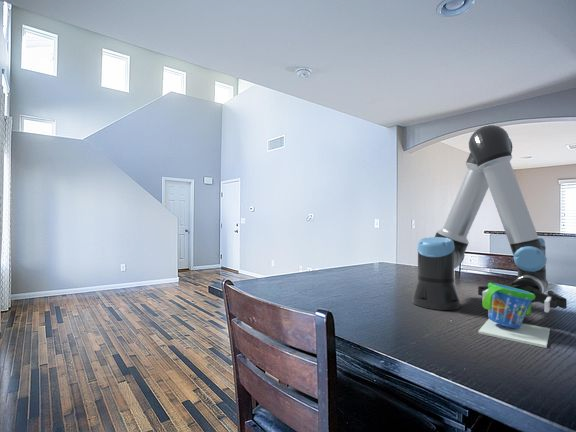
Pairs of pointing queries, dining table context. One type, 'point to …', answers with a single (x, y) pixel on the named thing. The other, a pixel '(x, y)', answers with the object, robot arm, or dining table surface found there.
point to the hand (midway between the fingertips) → (513, 301)
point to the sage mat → (517, 333)
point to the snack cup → (507, 304)
